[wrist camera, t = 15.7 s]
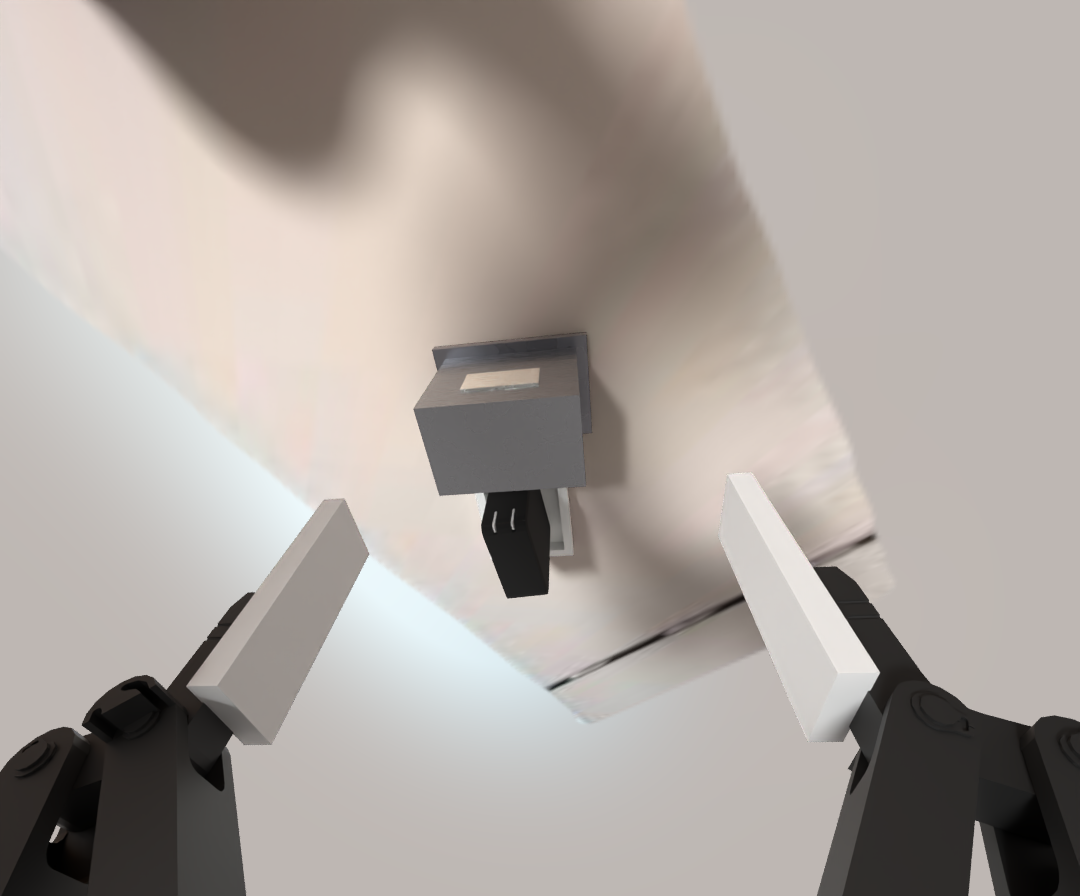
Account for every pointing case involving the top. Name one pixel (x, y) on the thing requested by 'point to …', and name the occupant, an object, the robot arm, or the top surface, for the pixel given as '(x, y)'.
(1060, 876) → the robot arm
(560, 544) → the tray
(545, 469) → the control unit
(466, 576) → the top surface
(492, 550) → the electronic device
